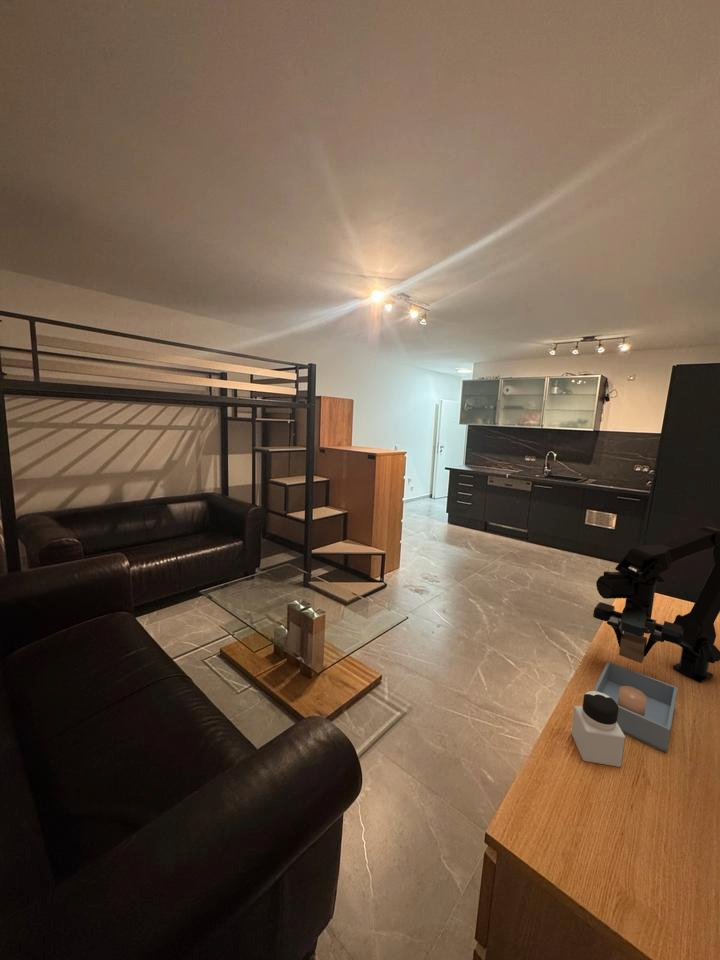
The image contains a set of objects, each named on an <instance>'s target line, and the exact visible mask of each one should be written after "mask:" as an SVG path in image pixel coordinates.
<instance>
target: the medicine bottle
mask: <svg viewBox="0 0 720 960" xmlns="http://www.w3.org/2000/svg"><path fill="white" fill-rule="evenodd" d="M582 699H583V701H582V706H580V705H574V706H573V714H572V724H571V730H570V731H571V733H570V734H571V735H572V737H573V738H572V739H573V740H574V743H575V745H576V747H577V750H578V752H579V755H580V756H581V759H582V761H584V762H588V763H593V764H594V763H595V764H601V765H606V766H607V765H608V766H610V767H611V766H612V767H617V768H618V767H619V768H620V767H622V766H623V757H624V750H625V743H626V734H625V733H623V732H622V730H621V728H620V727H619V725H618V723H617V717H618V710H619V708H618V705H617V703H616V702H615V701H614V700H613V699H612V698H611V697H609V696H608V695H606V694H604V693H601V692H597V691H593V690H590V691H587V692H585V693H584V695H583V698H582Z"/></svg>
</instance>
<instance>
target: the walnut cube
mask: <svg viewBox="0 0 720 960" xmlns="http://www.w3.org/2000/svg"><path fill="white" fill-rule="evenodd" d="M647 642H648V637H646V636H642V637H639V636H636V635H635V634H631V633H628V632H624V631H623V635H622V637H621V643H620V647H619V650H618V651H619V653H618V656H621V657H624V658H626V659H629V660H632V661H634V662H637V663H640V664H643V661H644V659H645V656H644V650H645V648H646V645H647Z"/></svg>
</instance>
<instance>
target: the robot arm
mask: <svg viewBox="0 0 720 960" xmlns="http://www.w3.org/2000/svg"><path fill="white" fill-rule="evenodd" d="M711 548H712V552H711V555H712V559H713V563H714V564H713V567H712V569H711V571H710V572H709V575H708V577H707V579H706V580H705V582H704V585H703V587H702V588H701V590H700V592H699V595H697V598H696V600H695V602H694V604H693V606H692V608H691V610H690V611H689V612H688V613H685V614H684V615H681V614H677V615H676V616H675V618H674V621H673V623H672V622H669V621H666V620H664V622H663V623H662V624H661V623H658V622H657V620H655V619H654V618H653V619H652V616H653V615H652V613H653V607H654V599H655V593H656V588H657V587H656V585H657V584H658V583H666V582H665V581H666V580H665V579H664V578H662V577H663V576H661V574H663V573H665V572H666V571H668V570H669V569H670V567H671V566H672V564H673V563H675V562H676V561H680V560H683V559H685V558H687V557H691V556H693V555H696V554H699V553H701V552H704V551H706V550H708V549H711ZM631 568H633V569H634V570H633V569H631ZM614 570H615V571H610V570H609V571H605V570H604V572H603V575H601V576H599V577H598V578H597V580H596V583H595V585H596V590H597V593H598V594H599V596H600V597H602V598H603V599H605V600H606V599H607V600H610V599H614V600H615V599H616V600H617V599H625V603H624V607H623V609H622V611H621V612H619V611H617V610H615V605H612V604H608V603H604V602H601V601H600V602H598V603H597V604H596V606H595V607H594V609H593V613H592V617H593V618H594V619H597V620H601V621H603V622H606V625H608V626H610V627H611V628H612V629H613V631H614V634H615V636H616V640H617V644H618V647H619V648H620V643H621V637H622V635H623V633H624V632H628V633H631V634H635V635H636V636H639V637H642V636H644V635H645V634H646V635H649V637H648V638H647V644H646V648H645V650H644V657H647V655H648V653H650V650H651V649H652V648H653V646H654V645H655V644H656V643H658V642H660V643H665V642H669V643H672V644H675V645H677V646H679V647H681V653H680V659H679V660H680V661H679V663H676V664H674V665H673V666H672V669H674V670H676V671H678V672H679V673H681V674H683V675H684V676H687V677H688V678H691V679H692V680H695V681H696V682H698V683H702V682H703V683H704V682H705V681H707V680H709V679H711V678H713V677H714V673H712V672H710V671H709V666H710V664H716V662H720V650H719V648H718V647H717V646H716V645H715V642H716V638H717V633H716V628H715V621H716V619H717V617H718V616H719V614H720V529H718V528H714V527H711V526H702V527H700V528H698V529H697V530H695V531H693V532H689V533H687V534H684V535H682V536H680V537H677V538H673V539H672V540H669V541H666V542H663V543H661V544H645V545H641V546H640V545H639V546H635V547H632V548H630V549H629V550H628V552H627V553H626V555H625V556H624V557H623V558H622V560H621V561H620V562H619V563H618V564H617V565H616V566H615V568H614ZM635 570H636V571H635ZM637 571H638V572H637ZM644 637H645V636H644Z"/></svg>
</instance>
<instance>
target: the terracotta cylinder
mask: <svg viewBox="0 0 720 960" xmlns="http://www.w3.org/2000/svg"><path fill="white" fill-rule="evenodd" d="M646 701H647V697H646V695H645V694H644V693H643V692H641V691H640V690H638V689H636V688H634V687H631V686H621V687H620V689H619V697H618V705H619V706H621V707H623V708H625V709H628V710H630V711H632V712H634V713H637V714H639V715H641V716H645V708H646Z"/></svg>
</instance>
